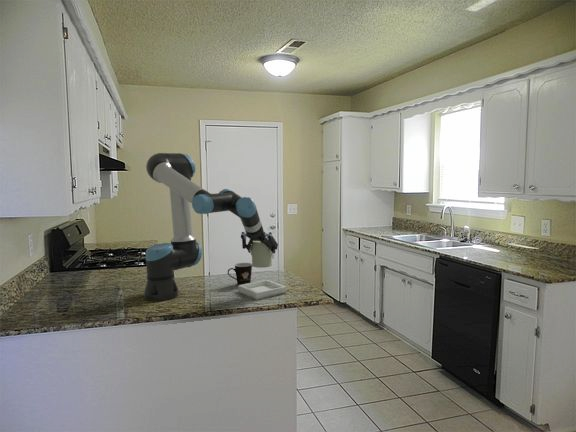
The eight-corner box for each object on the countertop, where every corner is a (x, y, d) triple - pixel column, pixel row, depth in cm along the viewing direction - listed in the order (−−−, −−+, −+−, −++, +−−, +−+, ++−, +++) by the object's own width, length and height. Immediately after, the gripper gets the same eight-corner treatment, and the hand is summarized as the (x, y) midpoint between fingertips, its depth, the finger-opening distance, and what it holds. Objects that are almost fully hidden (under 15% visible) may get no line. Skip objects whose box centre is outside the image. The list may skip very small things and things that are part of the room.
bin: (256, 300, 178) (256, 293, 178) (238, 291, 191) (238, 285, 190) (286, 293, 187) (286, 286, 187) (267, 285, 200) (266, 279, 200)
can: (260, 262, 194) (259, 237, 192) (275, 264, 188) (275, 239, 187) (247, 266, 186) (247, 240, 185) (263, 268, 181) (262, 241, 180)
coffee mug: (254, 282, 207) (253, 262, 205) (250, 287, 198) (250, 266, 197) (231, 281, 208) (231, 262, 207) (227, 286, 199) (226, 266, 198)
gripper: (226, 233, 173) (239, 261, 190) (276, 234, 168) (285, 263, 186) (230, 219, 177) (243, 248, 195) (279, 219, 173) (287, 249, 190)
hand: (263, 255), depth 190 cm, fingers closed on can, 9 cm apart
